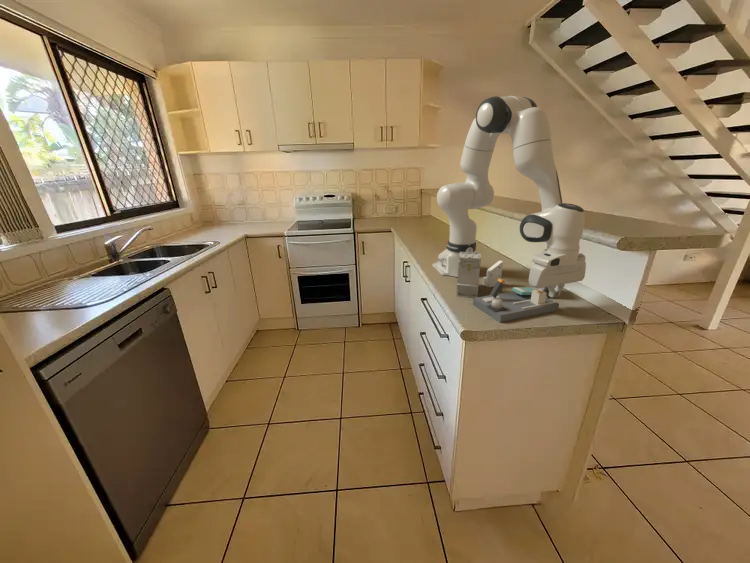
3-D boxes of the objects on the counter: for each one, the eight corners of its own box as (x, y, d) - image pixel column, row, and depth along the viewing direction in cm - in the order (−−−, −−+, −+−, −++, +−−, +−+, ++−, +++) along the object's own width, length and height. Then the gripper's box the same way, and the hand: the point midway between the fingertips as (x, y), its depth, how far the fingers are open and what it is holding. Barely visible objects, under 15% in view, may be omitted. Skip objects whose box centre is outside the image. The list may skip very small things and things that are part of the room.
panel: (472, 304, 108) (473, 296, 107) (526, 295, 114) (527, 286, 113) (499, 322, 95) (500, 313, 94) (557, 310, 102) (559, 301, 101)
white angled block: (509, 277, 125) (503, 261, 121) (490, 292, 124) (483, 276, 120) (503, 275, 128) (496, 259, 124) (484, 289, 127) (477, 273, 123)
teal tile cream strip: (521, 295, 105) (522, 291, 105) (511, 290, 109) (512, 287, 109) (539, 294, 108) (540, 291, 107) (529, 289, 112) (530, 287, 111)
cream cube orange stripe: (530, 301, 103) (532, 290, 101) (537, 300, 104) (539, 288, 102) (537, 305, 100) (539, 293, 99) (544, 303, 101) (546, 291, 100)
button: (489, 306, 100) (490, 299, 99) (497, 304, 101) (498, 297, 100) (495, 310, 97) (496, 303, 96) (504, 308, 98) (505, 301, 97)
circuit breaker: (476, 284, 126) (480, 248, 121) (477, 297, 113) (481, 258, 108) (457, 282, 128) (460, 247, 123) (456, 296, 115) (458, 257, 110)
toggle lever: (489, 294, 105) (498, 278, 104) (492, 296, 106) (502, 280, 105) (492, 296, 104) (502, 279, 103) (496, 298, 104) (505, 281, 103)
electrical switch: (530, 288, 120) (536, 265, 117) (544, 289, 120) (550, 267, 117) (539, 298, 112) (546, 274, 108) (554, 299, 111) (561, 275, 108)
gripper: (577, 250, 104) (569, 288, 109) (528, 257, 98) (522, 297, 103) (595, 255, 99) (586, 294, 103) (544, 262, 93) (537, 304, 98)
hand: (553, 296), depth 103 cm, fingers closed
